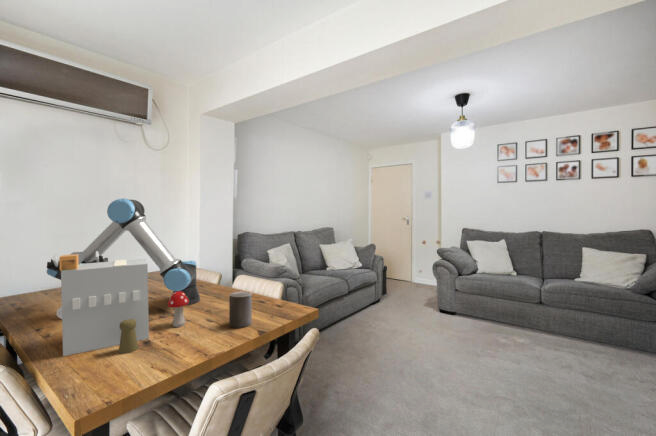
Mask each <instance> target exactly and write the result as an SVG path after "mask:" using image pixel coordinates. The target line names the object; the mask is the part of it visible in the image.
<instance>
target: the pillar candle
mask: <svg viewBox="0 0 656 436" xmlns="http://www.w3.org/2000/svg"><path fill="white" fill-rule="evenodd" d="M252 294H253V293H252V292H250V291H241V290H240V291H233V292H230V294H229V296H228V297H229V303H228V305H229V306H228V309H229V310H228V311H229V313H228V315H229V318H228V319H229V321H228V322H229V323H228V324H229V327H230V328H233V329H241V328H242V329H243V328H247V327H250V326H251V325H252V322H253V320H252V318H253V317H252V316H253V315H252V314H253V313H252V311H253V310H252V307H253V304H252V299H253V298H252V296H253V295H252Z"/></svg>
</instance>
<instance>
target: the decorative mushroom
mask: <svg viewBox="0 0 656 436" xmlns="http://www.w3.org/2000/svg"><path fill="white" fill-rule="evenodd" d="M188 303H189V299H188V298H187V296H186V295H185V293H183V292H181V291H177V292H175V293H174V294H173V295H172V294H171V296H170V298H169V299H168V302H167V306H168V307H169V308H174V309H173V319H172V322H171V323H172V327H174V328H181V327H184V326H185V325H186V319H185V315H184V307H186V306H188V305H187V304H188Z"/></svg>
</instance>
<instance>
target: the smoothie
mask: <svg viewBox="0 0 656 436" xmlns="http://www.w3.org/2000/svg"><path fill="white" fill-rule="evenodd" d="M56 317H57V318H59V319H61V320H62V306H60V307H59V308H58V309H57V311H56Z"/></svg>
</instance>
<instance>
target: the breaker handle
mask: <svg viewBox="0 0 656 436" xmlns="http://www.w3.org/2000/svg"><path fill="white" fill-rule="evenodd" d="M58 260H59V261H60V271H62V270H73V269H77V268H78V267H79V264H80V263H81V262H82V261H83V260H84V252H83V251H75V252H72V253H70V254H62V255H60V256H59V258H58Z"/></svg>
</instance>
